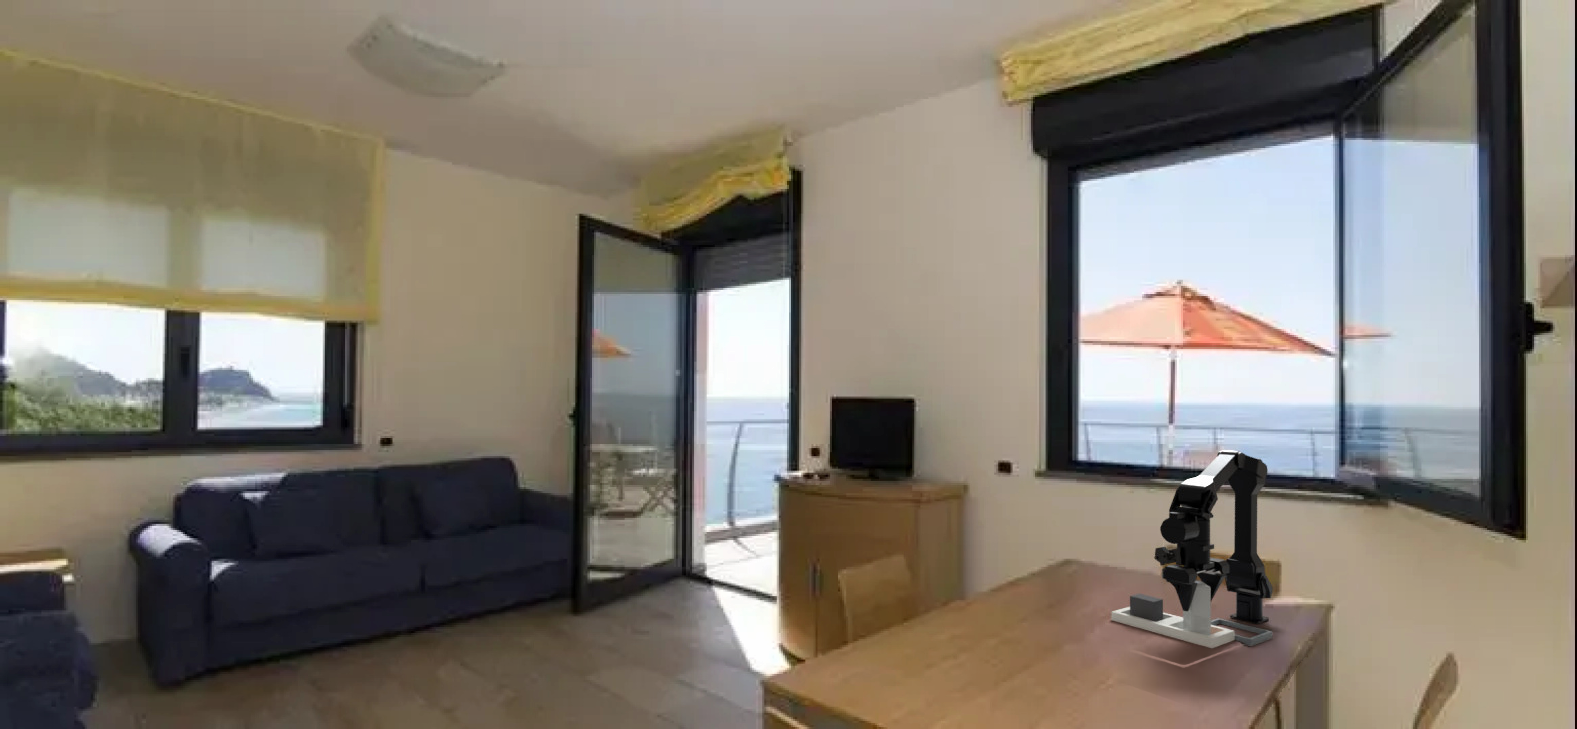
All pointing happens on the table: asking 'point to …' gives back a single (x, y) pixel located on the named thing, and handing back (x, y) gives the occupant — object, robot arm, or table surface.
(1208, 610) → the skincare box
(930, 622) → the table surface
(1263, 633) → the gray rectangular frame
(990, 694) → the table surface
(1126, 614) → the divided desk organizer
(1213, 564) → the robot arm
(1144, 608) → the dark gray rectangular block
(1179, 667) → the table surface
